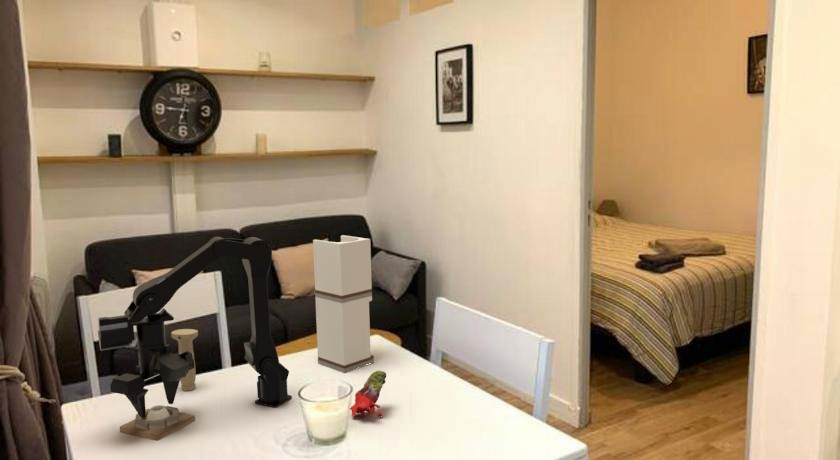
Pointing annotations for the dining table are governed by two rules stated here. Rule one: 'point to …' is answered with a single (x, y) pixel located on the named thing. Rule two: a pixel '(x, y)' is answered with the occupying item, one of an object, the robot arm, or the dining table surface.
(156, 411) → the white jar
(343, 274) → the stacked square vase
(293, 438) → the dining table surface
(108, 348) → the robot arm
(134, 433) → the hub plate
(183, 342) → the handle
